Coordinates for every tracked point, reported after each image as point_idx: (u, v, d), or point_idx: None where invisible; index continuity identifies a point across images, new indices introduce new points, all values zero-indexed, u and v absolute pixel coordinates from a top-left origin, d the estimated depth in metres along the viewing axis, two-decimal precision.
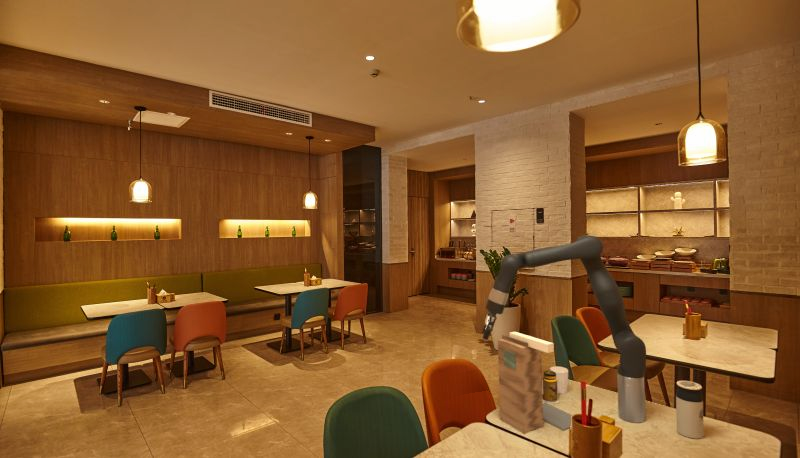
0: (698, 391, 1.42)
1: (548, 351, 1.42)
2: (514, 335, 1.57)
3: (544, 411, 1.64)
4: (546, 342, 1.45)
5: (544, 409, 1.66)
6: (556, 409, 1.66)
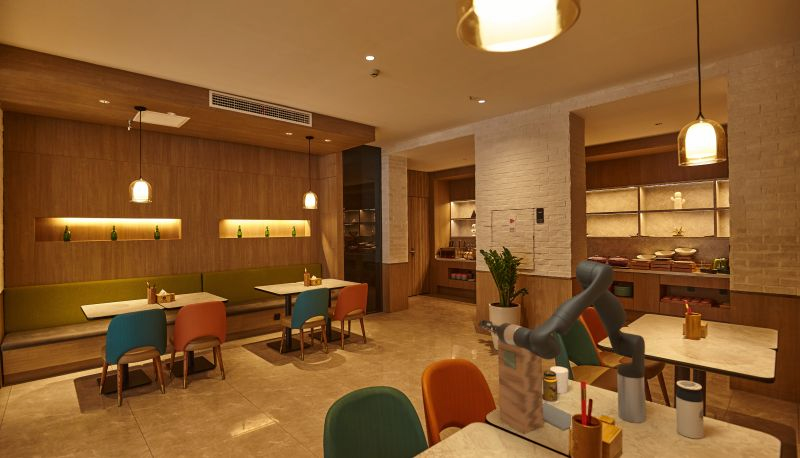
0: (698, 391, 1.42)
1: None
2: None
3: (544, 411, 1.64)
4: None
5: (544, 409, 1.66)
6: (556, 409, 1.66)
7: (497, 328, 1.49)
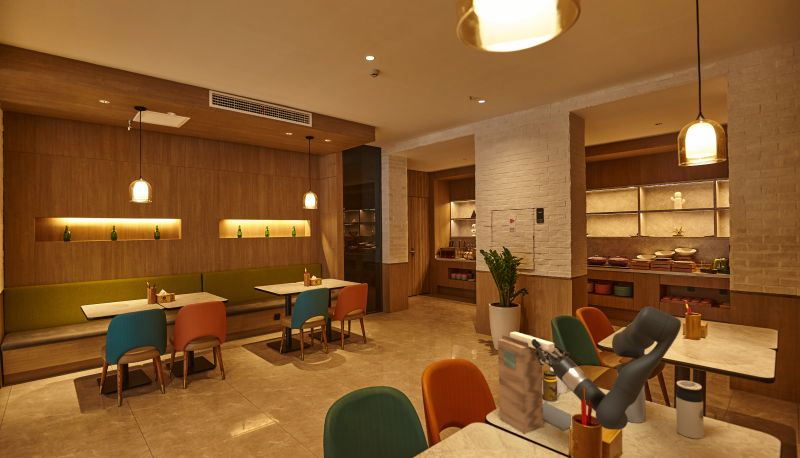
0: (698, 391, 1.42)
1: None
2: (514, 335, 1.56)
3: (544, 411, 1.64)
4: (546, 342, 1.45)
5: (544, 409, 1.66)
6: (556, 409, 1.66)
7: (553, 366, 1.37)
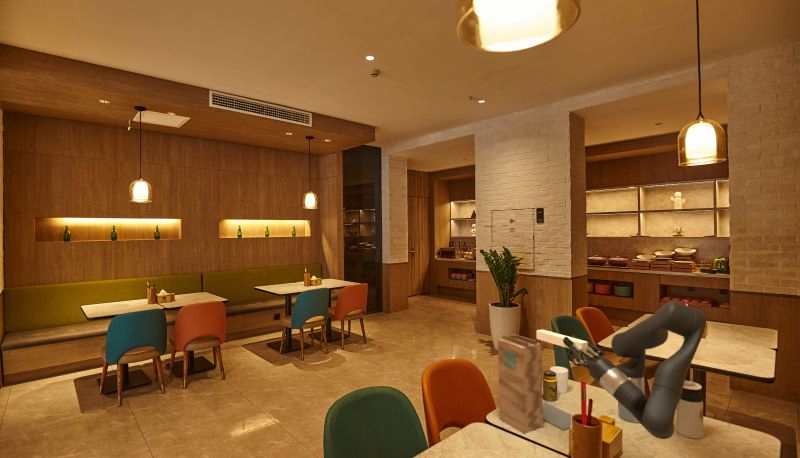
0: (698, 391, 1.42)
1: None
2: (541, 333, 1.44)
3: (544, 411, 1.64)
4: (579, 340, 1.32)
5: (544, 409, 1.66)
6: (556, 409, 1.66)
7: (589, 367, 1.25)
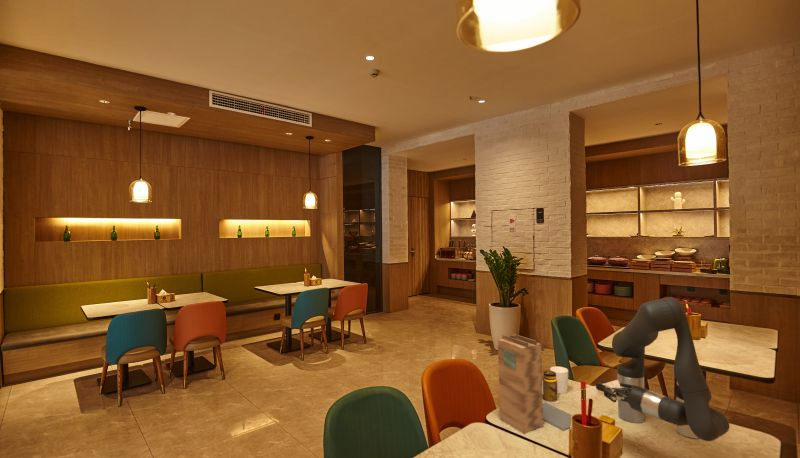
0: None
1: None
2: (577, 393, 1.49)
3: (544, 411, 1.64)
4: None
5: (544, 409, 1.66)
6: (556, 409, 1.66)
7: (627, 399, 1.30)
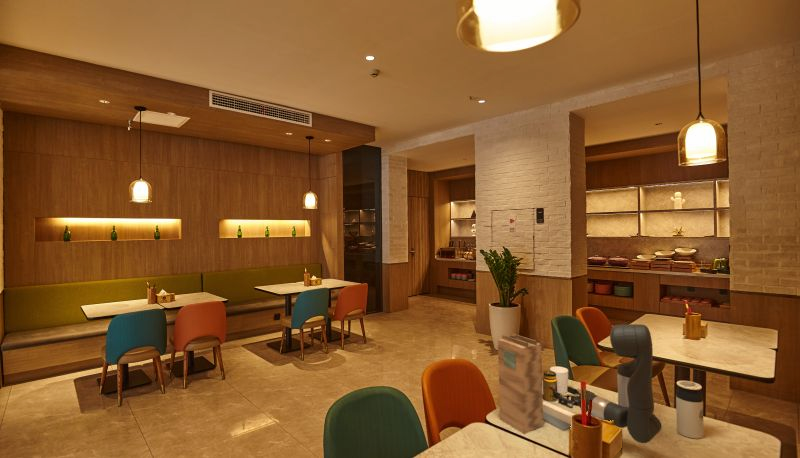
0: (698, 391, 1.42)
1: None
2: (545, 406, 1.63)
3: None
4: None
5: None
6: None
7: (579, 404, 1.46)
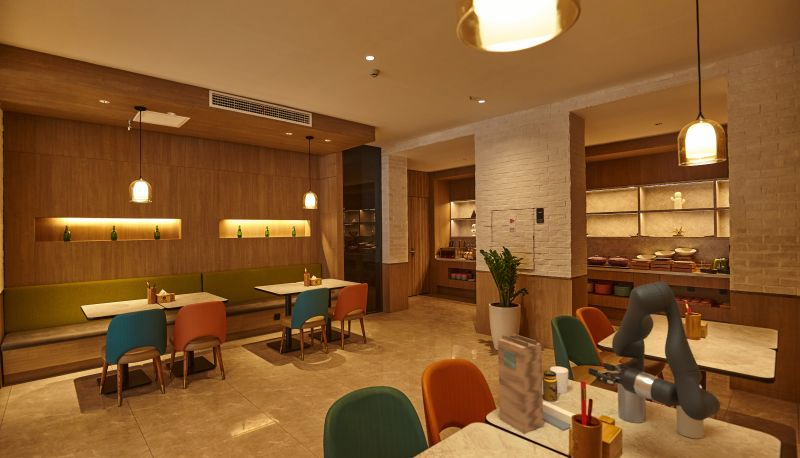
0: None
1: None
2: (545, 406, 1.63)
3: None
4: None
5: None
6: None
7: (620, 381, 1.32)
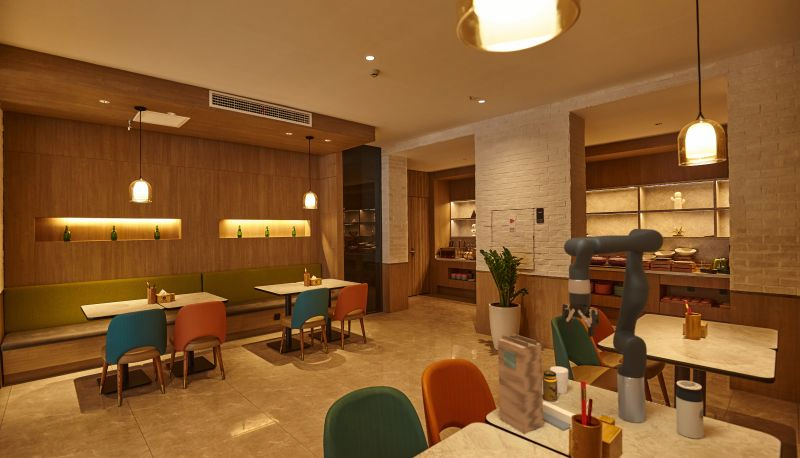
0: (698, 391, 1.42)
1: None
2: (545, 406, 1.63)
3: None
4: None
5: None
6: None
7: None
